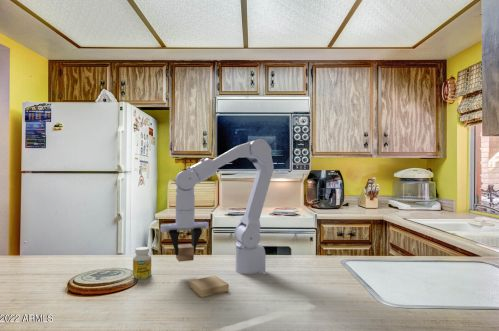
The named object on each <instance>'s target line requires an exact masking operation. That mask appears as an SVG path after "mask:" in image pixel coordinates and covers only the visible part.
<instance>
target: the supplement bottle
mask: <svg viewBox="0 0 499 331" xmlns="http://www.w3.org/2000/svg"><path fill="white" fill-rule="evenodd" d="M134 252H135V254H134V256H133V257H132V277H133V276H134V277H135V278H136V279H135V280H145V279H149V278H150V277H151V276H152V255H151V254H150V247H149V246H139V247H136V248H135V251H134Z"/></svg>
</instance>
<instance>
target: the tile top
mask: <svg viewBox="0 0 499 331" xmlns="http://www.w3.org/2000/svg"><path fill="white" fill-rule="evenodd" d="M229 285H230V284H229V283H228V282H226V281H225V280H223V279H221V278H220V277H219V276H217V275H210V276H206V277H202V278H196V279H192V280H189V288H190V289H192V291H193V290H194V291H195V292H196V293H197V294H198V295H199V296H201V297H200V298H205V297H210V296H214V295H213V294H217V293H222V292H229V289H230V288H229V287H230V286H229ZM194 291H193V292H194ZM195 292H194V293H195ZM209 295H210V296H209ZM217 295H218V294H217Z"/></svg>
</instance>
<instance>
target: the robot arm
mask: <svg viewBox="0 0 499 331" xmlns="http://www.w3.org/2000/svg"><path fill="white" fill-rule="evenodd" d="M239 158H246V159H247V160H249V161H250V162H252V164H253V166H254V167H255V169H256V173H255V177H254V181H253V184H252V187H251V191H250V193H249V194H250V195H249V197H248V201H247V205H246V208H245V212H244V214H243V216H242V217H241V218H240V220H239V223H238V225H237V226H236V227H235V229H234V231H233V233H234V238H235V239H236V244H235V272H236V273H238V274H241V275H252V274H257V273H260V274H261V275H263V276H265V275H267V272H266V249H265V247H264V246H263V245H262V244H259V243H260V241H261V232H260V231H261V221H260V220H261V214H262V211H263V209H264V205H265V201H266V197H267V195H268V194H267V193H268V190H269V187H270V183H271V181H272V177H273V173H274V168H275V167H274V166H275V165H274V161H273V158H272V147H271V146H270V145H269V143H268V141H266V140H265V139H263V138H257V139H255V140H249V141H247V142H246V143H242V144H239V145H236V146H234V147H233V148H231V149H229V150H227V151H226V152H224V153H222V154H220V155H218V156H217V157H215V158H214V159H211V158H210V157H206V158H201V159H199V162H197V163H195V164H193V165H191V166H190V165H188V166H187V167H186V170H182V171H180V172H178V173H177V175H176V176H175V179H174V183H175V185H176V189H175V192H176V193H175V222H174V223H167V224H166V223H165V224H160V233H165V232H167V234H168V235H169V238H170V240H171V242H172V245H173V250H174V255H175V256H176V255H178V245H179V237H180V236H179V232H178V231H189V230H190V235H191V243H190V244H191V245H192V246H193V247H194V254H195V253H196V250H197V245H198V243H199V240H200V238H201V235H203V234H202V233H203V230H204V229H205V230H209V229H210V228H209V224H210V223H209V222H208V221H195V206H196V205H195V204H196V203H195V202H196V201H195V197H196V196H195V186H196V184H200V183H202V182H204V181H206V180H207V179H210V178H211V177H212V176H215V175H216V174H217V172H218V170H219V168H221V167H224V166H225V165H227V164H230V163H231V162H233V161H235V160H237V159H239ZM202 229H203V230H202Z"/></svg>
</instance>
